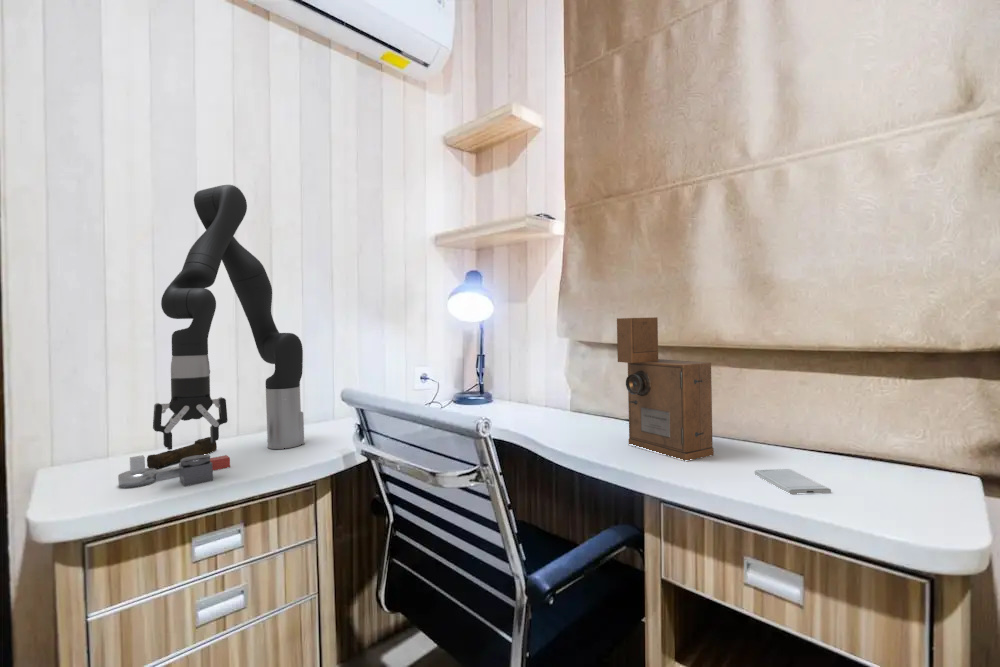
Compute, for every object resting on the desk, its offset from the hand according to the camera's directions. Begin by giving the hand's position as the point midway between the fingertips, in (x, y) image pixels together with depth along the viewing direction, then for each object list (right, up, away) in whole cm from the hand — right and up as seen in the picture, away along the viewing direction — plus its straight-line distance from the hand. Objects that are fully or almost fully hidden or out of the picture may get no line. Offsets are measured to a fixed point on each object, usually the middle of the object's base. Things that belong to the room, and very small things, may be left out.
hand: (191, 445), depth 111 cm
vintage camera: (+114, -5, +17) cm, 115 cm away
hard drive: (+130, -6, -11) cm, 131 cm away
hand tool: (-14, -9, +20) cm, 26 cm away
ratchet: (-6, -8, +5) cm, 11 cm away
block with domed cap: (+1, -8, 0) cm, 8 cm away
